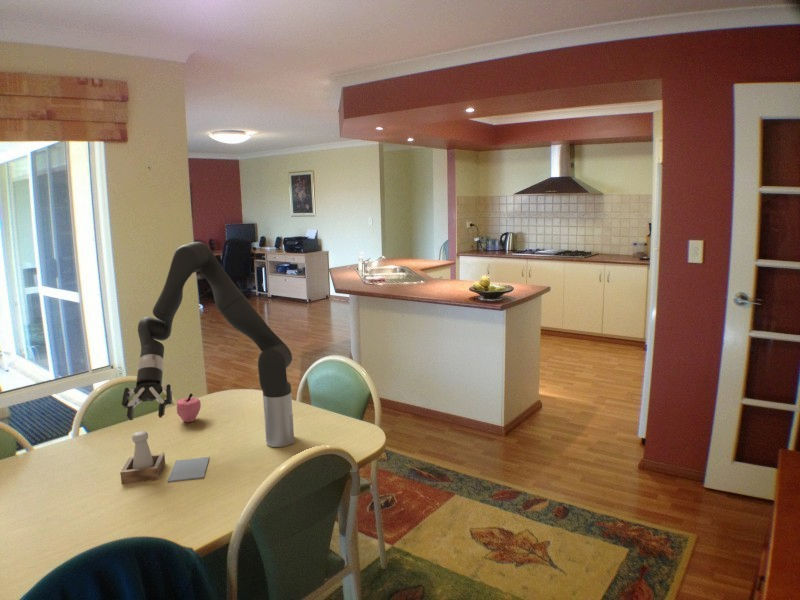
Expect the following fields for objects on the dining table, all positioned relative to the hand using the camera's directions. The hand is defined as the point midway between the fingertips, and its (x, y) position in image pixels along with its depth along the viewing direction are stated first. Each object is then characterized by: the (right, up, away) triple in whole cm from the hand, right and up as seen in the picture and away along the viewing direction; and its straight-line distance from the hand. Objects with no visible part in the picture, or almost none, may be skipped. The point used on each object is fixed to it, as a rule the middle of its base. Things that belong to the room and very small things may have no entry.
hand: (145, 418), depth 169 cm
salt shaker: (+2, -16, -5) cm, 17 cm away
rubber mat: (+15, -15, -3) cm, 21 cm away
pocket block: (+2, -15, -5) cm, 16 cm away
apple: (+1, -9, +34) cm, 35 cm away
